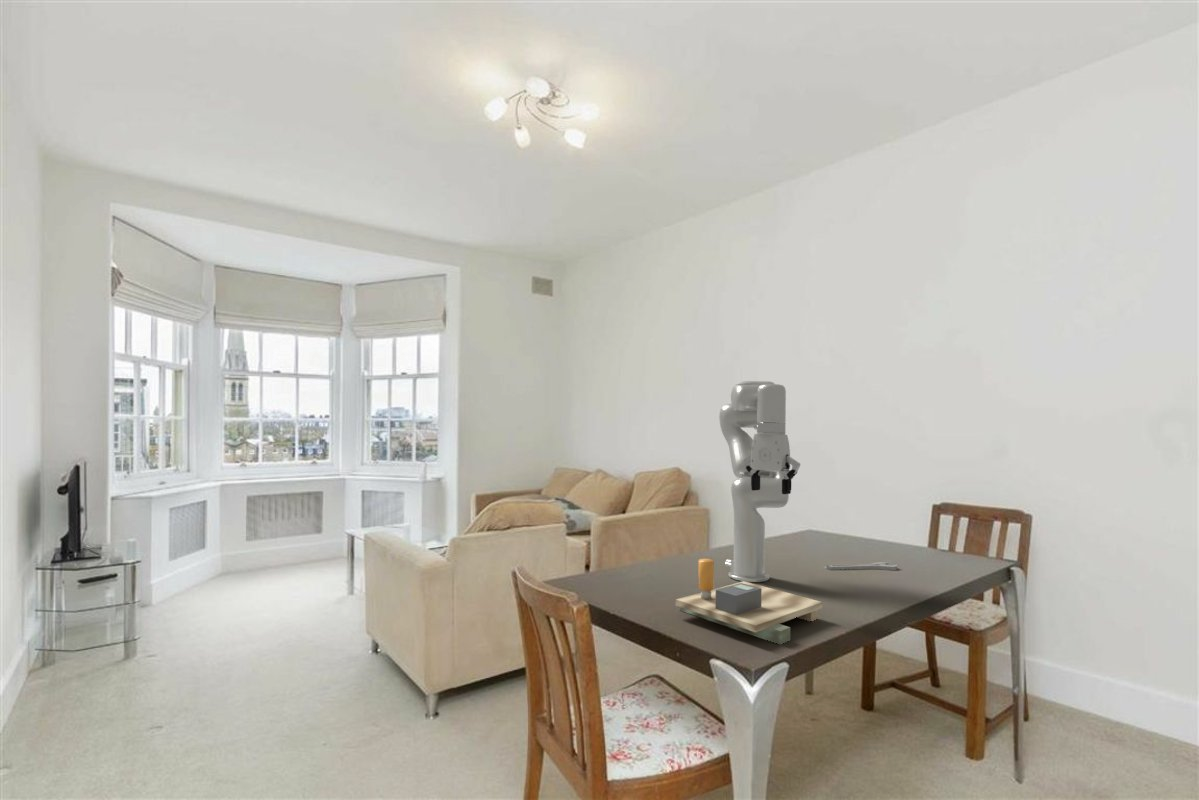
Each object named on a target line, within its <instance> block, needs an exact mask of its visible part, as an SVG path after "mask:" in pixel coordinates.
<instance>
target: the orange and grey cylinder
mask: <svg viewBox="0 0 1199 800" xmlns="http://www.w3.org/2000/svg"><path fill="white" fill-rule="evenodd" d="M714 563H715V560H713V559H711V558H699V559H698V589H699V590H700V593H701V599H704V600H709V599H711V590H713V589H715V582H714V580H715V577H714V576H715V574H714V573H715V572H714V571H715V566H714Z"/></svg>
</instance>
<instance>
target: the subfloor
mask: <svg viewBox="0 0 1199 800" xmlns="http://www.w3.org/2000/svg"><path fill="white" fill-rule="evenodd" d="M739 583H743V584H747V585H751V586H754V587H758V588H762V591H761V607H760V608H757V609H754V610H751V611H748V612H745V613H742V614H738V615H733V614H730V613H727V612H724V611H721V610H718V609H716V590H717V589H721V588H725V587H728V586H732V585H736V584H739ZM675 607H679V611H681V612H683V613H687V614H688V615H691V616H695V617H698V618H701V619H704V620H707V621H708V622H709V621H710V622H712V623H715V624H718V625H721V626H725V627H727V628H730V629H732V630H735V631H739V632H741V633H744V634H748V635H751V636H752V637H757V638H759V639H762V640H765V641H767V640H768V642H770V641H771V642H770V643H773V642H774V644H776V643H777V645H779V644H780V646H781V645H783V643H784V644H786V643H788V642H787V641H789V642H790V641H791V627H790V626H787V625H784V624H782V623H785V622H788V621H791V620H794V619H795V618H796V617H797V618H796V619H800V620H803V619H804V620H803V621H806V620H807V622H810V621H812V622H814V620H815V621H817V620H818V617H819V616H818V612H819V611H818V610H821V609H823V601H820V600H816V599H814V598H813V599H812V598H810V597H809V598H808V597H805V596H801V595H796V594H794V593H790V592H786V591H784V590H783V591H782V590H779V589H775V588H770V587H766V586H763V585H760V584H756V583H753V582H745V581H739V582H736V583H732V584H729V585H728V584H727V585H724V586H720V587H717V588H714V589H713V590H711V599H709V600H704V599H701V592H699V593H698V592H697V593H694V594H692V595H691V594H690V595H687V596H683V597H679V598H676V599H675ZM816 619H817V620H816ZM785 642H786V643H785Z"/></svg>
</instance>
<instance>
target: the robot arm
mask: <svg viewBox="0 0 1199 800" xmlns="http://www.w3.org/2000/svg"><path fill="white" fill-rule="evenodd" d="M786 391H787V390H786V387H785V386H784V385H783V384H778V383H777V384H775V382H773V381H767V380H766V381H762V380H760V381H759V380H758V381H757V380H746V381H745V380H744V381H741V382H738V383H736V384H734V385H733V386H732V390H731V393H730V401H731V403H727V404H724V405H723V406H722V407H721V408H720V411H719V418H718V419H719V424H720V426H719V427H720V430H721V433H722V435H723V437H724V440H725V442H726V443H727V445H728V448H729V456H730V462H731V469H732V471H733V474H734V475H735V477H736V479H734V481H732V484H731V488H730V491H731V492H730V493H731V499H732V507H733V559H730V558H727V559H726V560H725V562H724V566H725V567H730V570H729V571H728V577H730V578H731V579H733V580H735V581H739V582H742V581H745V582H749V583H761V582H762V583H764V582H767V581H768V580H770V574H769V573H768V572H766V571H765V558H766V557H765V555H766V554H765V548H766V547H765V546H766V545H765V543H766V542H765V541H766V539H765V535H766V534H765V533H766V531H765V529H766V527H765V526H766V525H765V524H766V523H765V520H764V517H763V516H762V515H761V514H760V513H759V511H758V510H757V509H758V508H759V509H760V508H761V509H762V508H767V509H769V508H770V509H772V508H775V509H777V508H779V509H780V508H784V507H785V506H786V505H787V504H788V502H789V499H790V498H789V497H790V496H789V495H790V494H791V493H792V480H793V479H794V477H795V476H796V475H797V474H798V471H799V469H800V467H801V463H800V462H799V461H798V460H795V459H794V458H793V457H791V449H790V442H789V441H790V440H789V437H788V434H786V421H787V420H786V400H787V398H786V397H787V396H786V395H787V392H786ZM742 428H744V429H745V428H749V429H750V428H751V429H753V428H754V430H756V433H754V435H753V438H752V437H751V435H750V434H748V432H746V431H745V430H744V429H742ZM791 466H792V468H791Z"/></svg>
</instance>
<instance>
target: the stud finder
mask: <svg viewBox="0 0 1199 800" xmlns="http://www.w3.org/2000/svg"><path fill="white" fill-rule="evenodd" d="M738 583H739V582H738ZM761 591H762V588H758V587H754V586H751V585H747V584H743V583H739V584H736V585H732V586H728V587H725V588H721V589H717V590H716V609H718V610H721V611H724V612H727V613H730V614H733V615H738V614H742V613H745V612H748V611H751V610H754V609H757V608H760V607H761Z"/></svg>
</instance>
